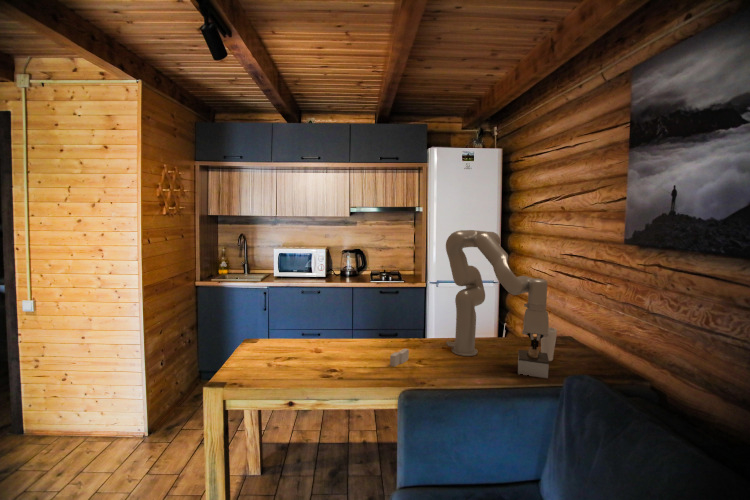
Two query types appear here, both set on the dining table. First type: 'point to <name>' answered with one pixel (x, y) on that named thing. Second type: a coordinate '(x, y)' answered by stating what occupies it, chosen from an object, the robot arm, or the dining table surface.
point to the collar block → (533, 364)
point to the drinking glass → (549, 343)
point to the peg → (533, 352)
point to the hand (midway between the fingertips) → (534, 348)
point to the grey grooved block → (399, 357)
